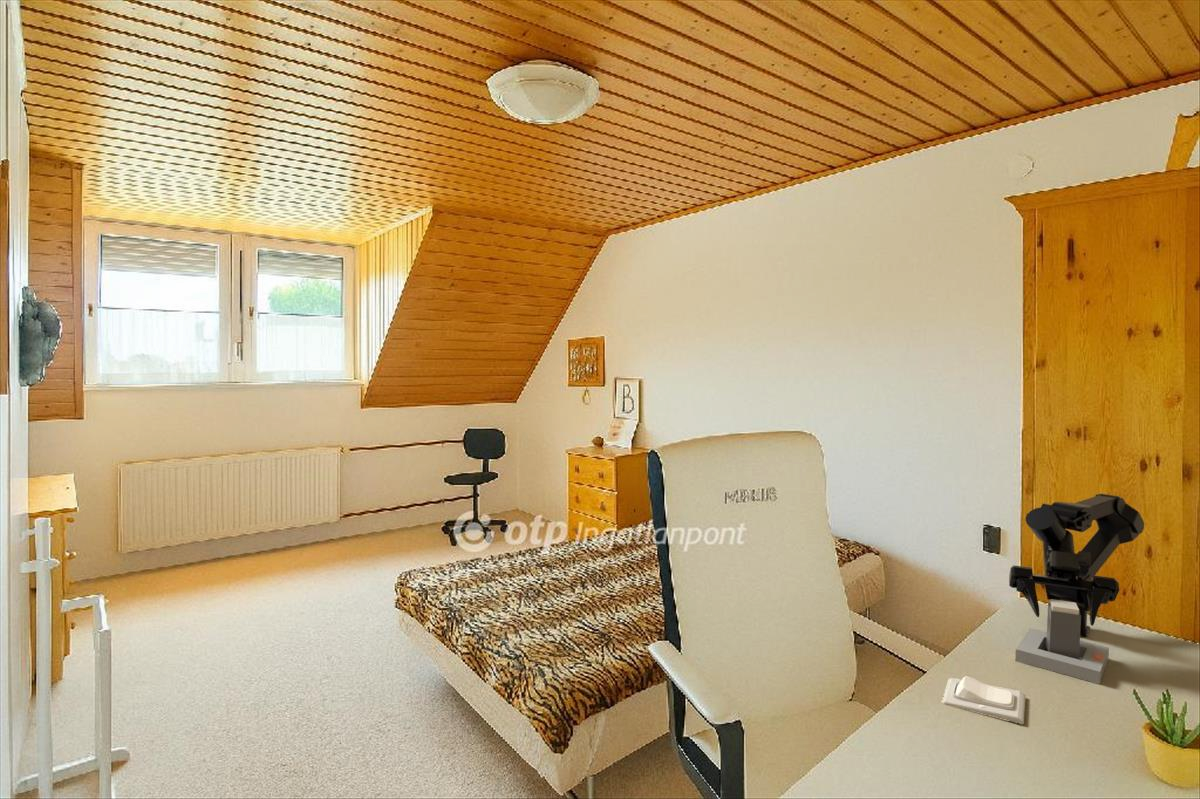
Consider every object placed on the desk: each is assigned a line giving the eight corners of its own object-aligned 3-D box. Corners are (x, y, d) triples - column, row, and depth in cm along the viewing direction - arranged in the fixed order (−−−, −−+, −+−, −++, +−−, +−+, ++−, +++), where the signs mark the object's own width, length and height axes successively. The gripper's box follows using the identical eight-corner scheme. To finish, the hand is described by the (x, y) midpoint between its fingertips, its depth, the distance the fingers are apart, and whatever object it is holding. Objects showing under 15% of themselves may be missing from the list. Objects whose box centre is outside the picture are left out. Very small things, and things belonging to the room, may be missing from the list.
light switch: (947, 664, 126) (1024, 679, 119) (948, 685, 127) (1025, 700, 119) (939, 688, 118) (1022, 705, 110) (940, 710, 118) (1023, 728, 110)
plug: (1046, 652, 137) (1048, 598, 136) (1074, 657, 134) (1077, 602, 134) (1049, 662, 132) (1051, 606, 132) (1078, 667, 130) (1081, 610, 129)
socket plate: (1029, 638, 143) (1029, 626, 143) (1108, 658, 134) (1109, 646, 133) (1015, 660, 133) (1015, 647, 133) (1099, 684, 124) (1100, 670, 123)
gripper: (1012, 529, 140) (1014, 595, 131) (1119, 540, 131) (1130, 612, 122) (1007, 554, 147) (1010, 618, 139) (1109, 566, 138) (1118, 635, 130)
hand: (1064, 620), depth 132 cm, fingers open, 9 cm apart
